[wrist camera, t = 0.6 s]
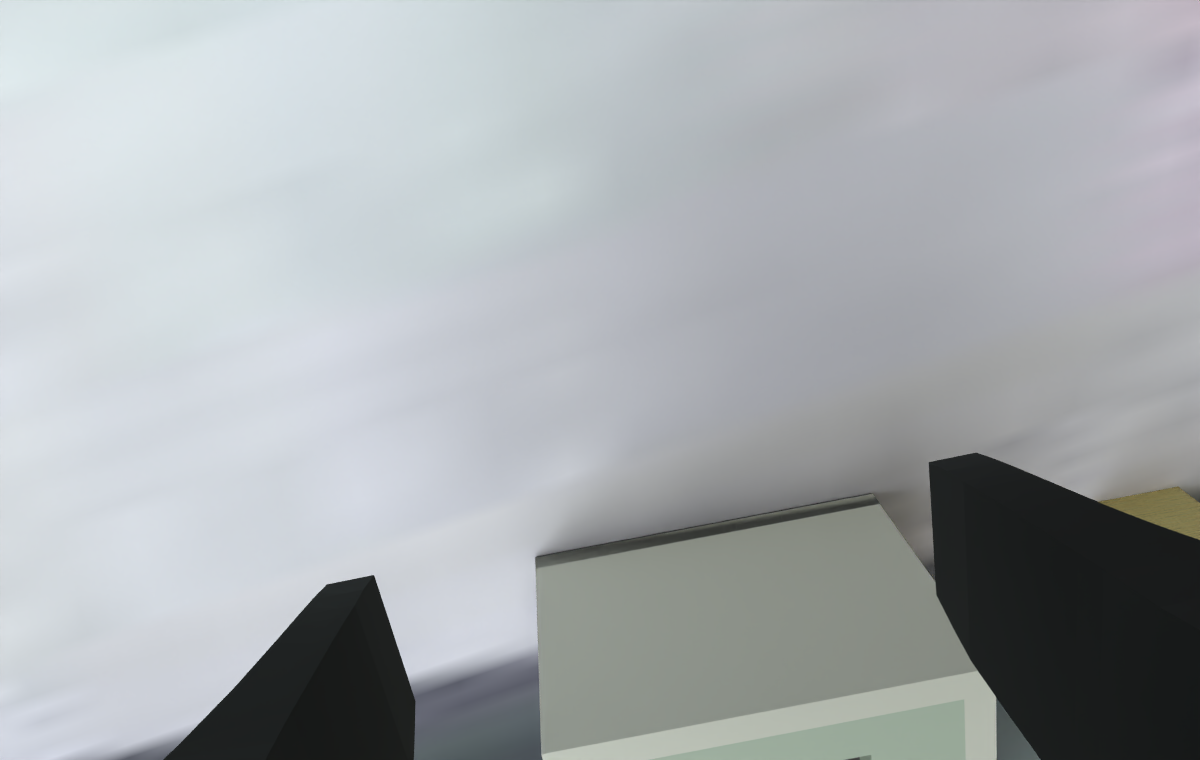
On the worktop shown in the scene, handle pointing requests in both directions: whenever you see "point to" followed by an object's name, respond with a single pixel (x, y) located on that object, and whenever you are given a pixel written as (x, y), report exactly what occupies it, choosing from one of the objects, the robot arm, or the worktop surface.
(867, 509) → the box
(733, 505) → the worktop surface
